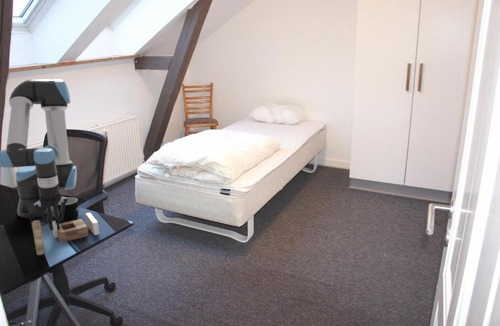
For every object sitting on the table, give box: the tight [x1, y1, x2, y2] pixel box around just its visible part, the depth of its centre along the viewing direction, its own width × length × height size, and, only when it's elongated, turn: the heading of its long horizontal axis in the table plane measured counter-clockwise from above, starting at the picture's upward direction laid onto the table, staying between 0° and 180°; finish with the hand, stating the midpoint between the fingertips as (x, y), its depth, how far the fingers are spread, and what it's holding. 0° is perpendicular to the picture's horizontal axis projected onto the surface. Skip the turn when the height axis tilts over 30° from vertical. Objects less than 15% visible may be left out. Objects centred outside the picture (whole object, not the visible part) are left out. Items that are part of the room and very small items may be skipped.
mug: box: [57, 196, 79, 223], centre depth 187 cm, size 12×9×10 cm
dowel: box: [31, 220, 46, 256], centre depth 157 cm, size 3×3×14 cm
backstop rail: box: [85, 212, 100, 236], centre depth 179 cm, size 12×2×6 cm, turn 36°
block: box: [57, 218, 89, 244], centre depth 174 cm, size 9×11×4 cm
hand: (55, 236), depth 170 cm, fingers closed
